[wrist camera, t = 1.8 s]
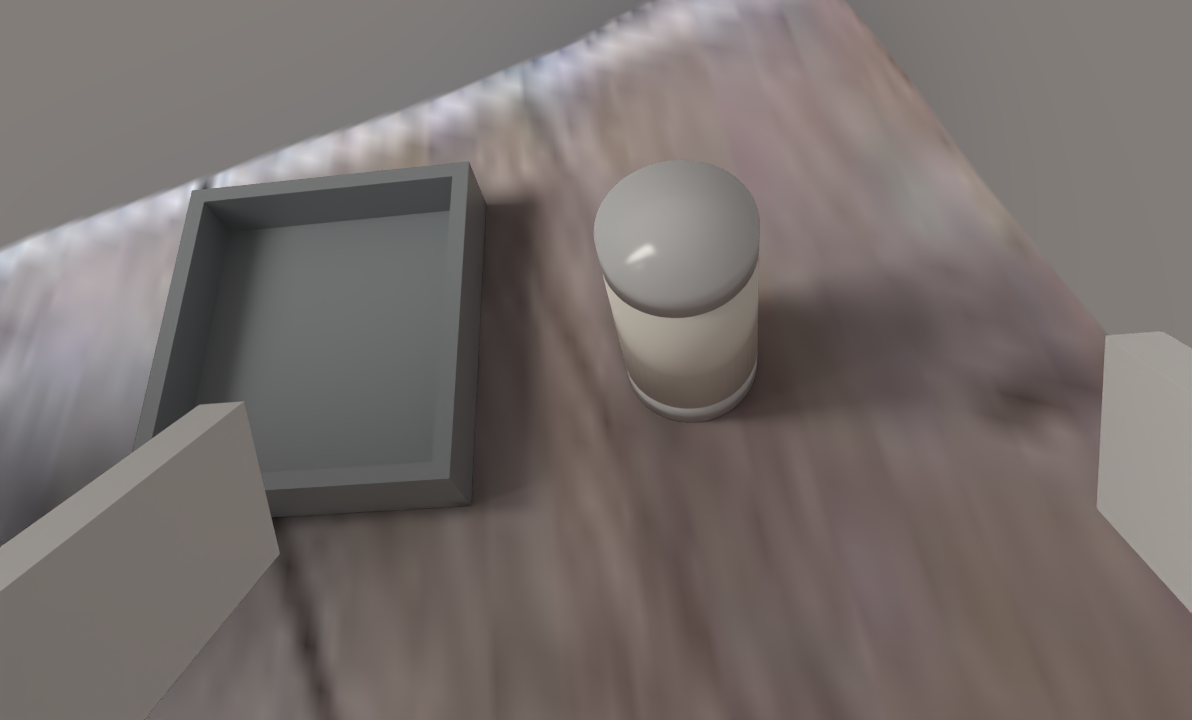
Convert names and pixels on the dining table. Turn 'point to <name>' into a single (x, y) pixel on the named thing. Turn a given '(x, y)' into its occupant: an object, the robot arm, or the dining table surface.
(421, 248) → the parts tray
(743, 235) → the grey lidded jar
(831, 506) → the dining table surface
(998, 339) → the dining table surface
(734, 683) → the dining table surface
